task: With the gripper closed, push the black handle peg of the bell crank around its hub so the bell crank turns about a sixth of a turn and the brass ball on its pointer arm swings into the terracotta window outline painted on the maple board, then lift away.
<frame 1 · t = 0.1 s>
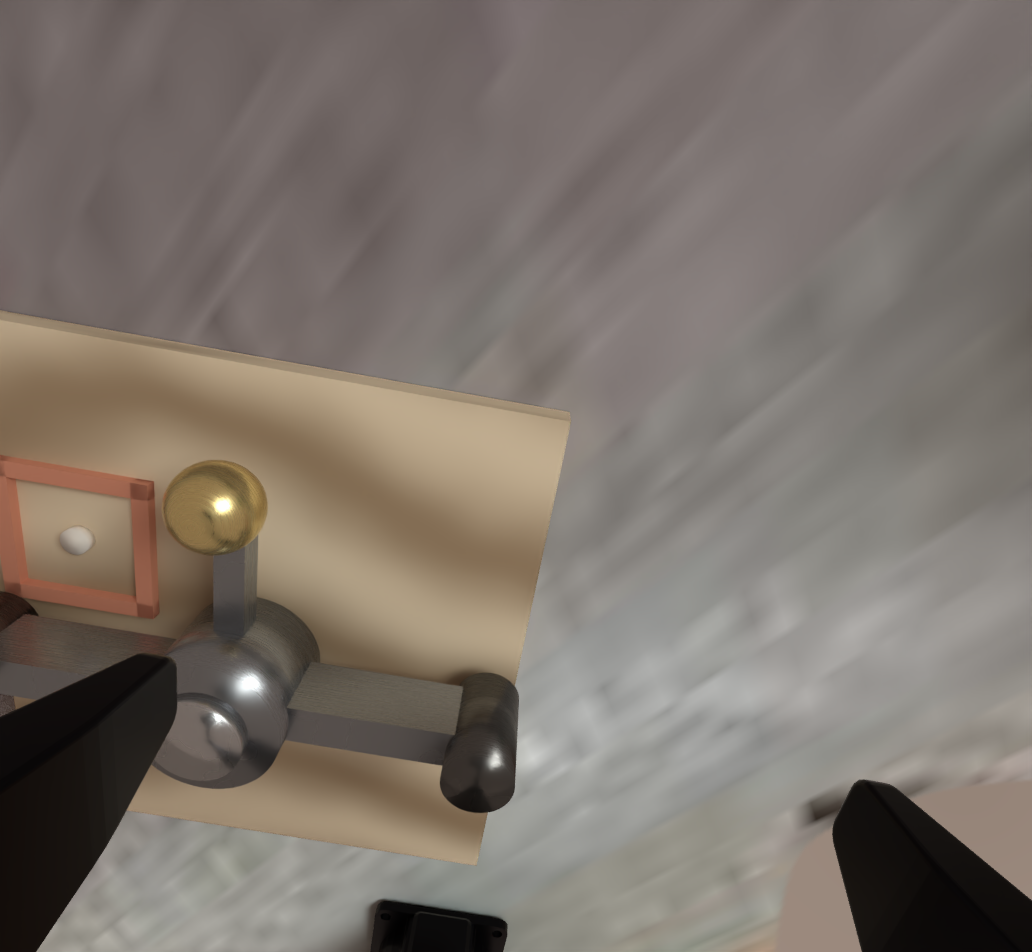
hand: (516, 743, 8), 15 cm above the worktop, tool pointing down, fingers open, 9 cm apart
level window: (102, 523, 24), resting on board
bell crank: (227, 616, 20), point 4 cm above the worktop, hinge at 0.0°
board: (272, 617, 25), on the worktop
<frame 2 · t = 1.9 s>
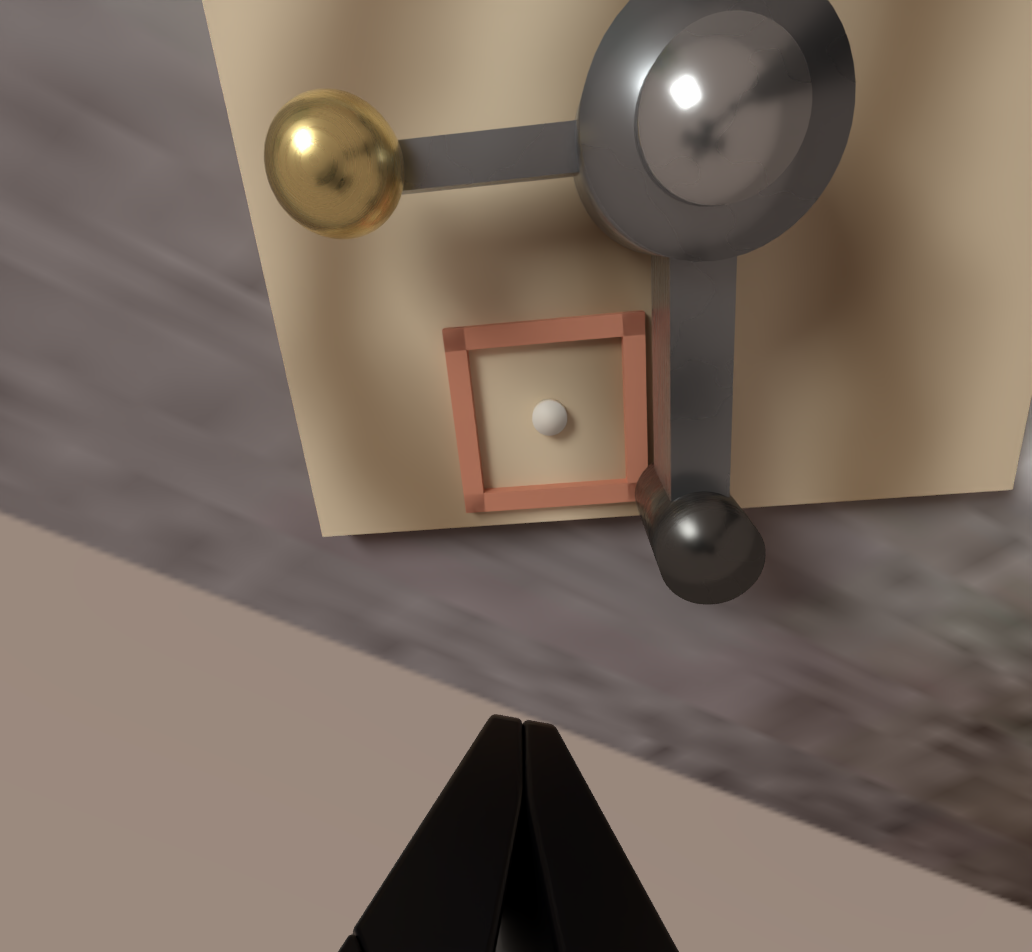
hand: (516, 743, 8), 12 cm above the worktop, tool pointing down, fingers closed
level window: (549, 404, 19), resting on board
bell crank: (542, 149, 13), point 4 cm above the worktop, hinge at 0.0°
board: (642, 157, 17), on the worktop
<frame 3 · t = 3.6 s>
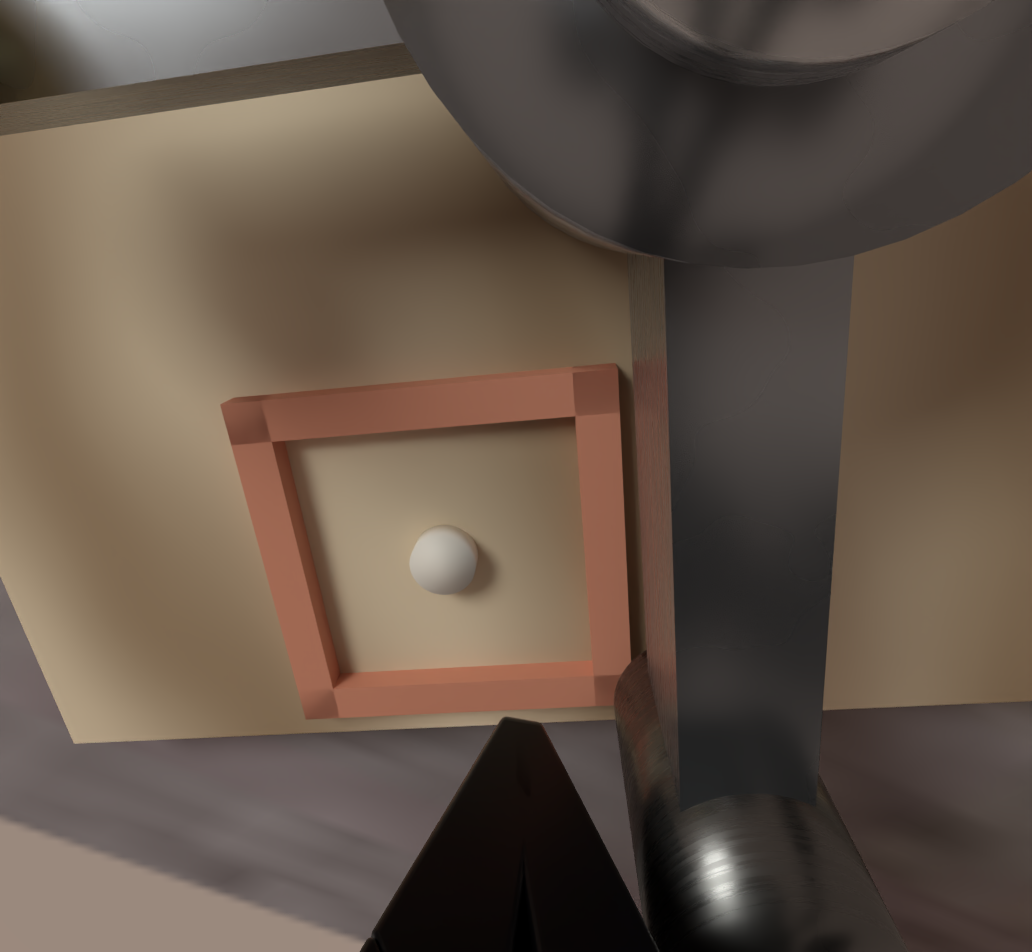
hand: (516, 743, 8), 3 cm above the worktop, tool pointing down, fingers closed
level window: (457, 521, 11), resting on board
board: (611, 59, 8), on the worktop
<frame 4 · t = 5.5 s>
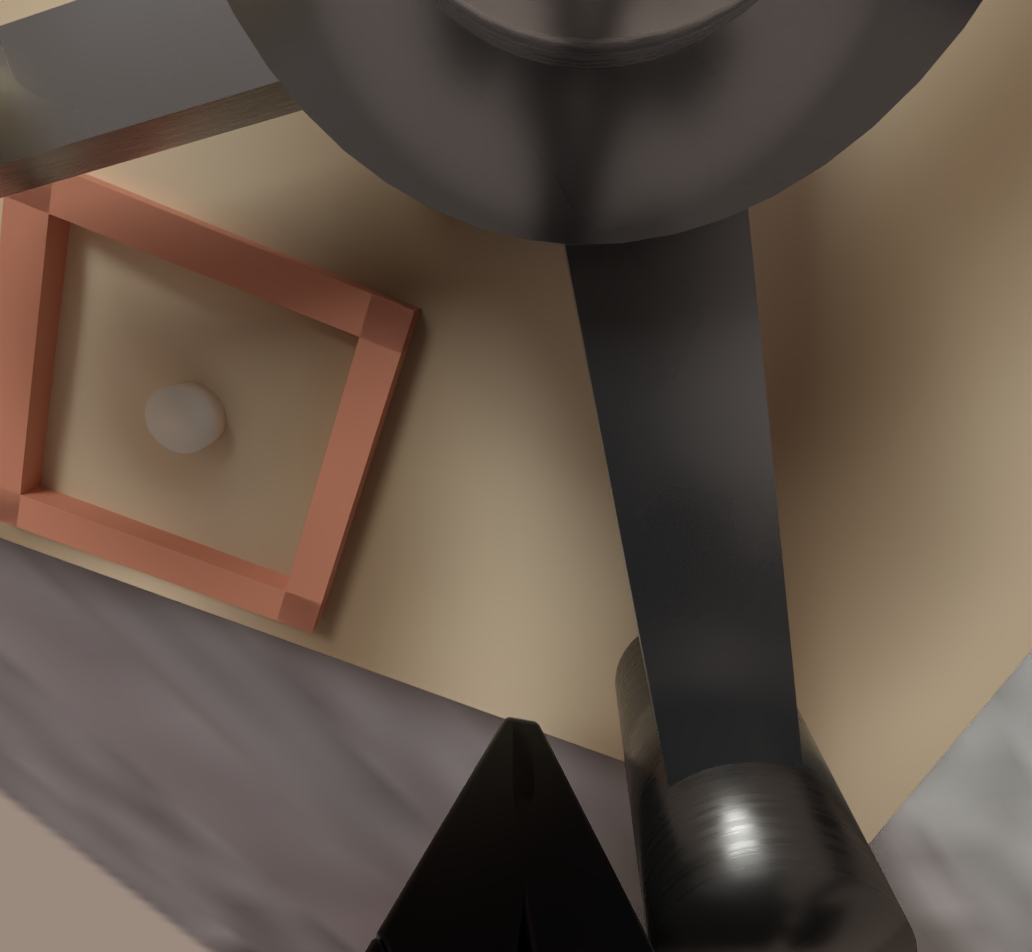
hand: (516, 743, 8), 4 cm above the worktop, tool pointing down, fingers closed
level window: (232, 396, 11), resting on board
bell crank: (219, 22, 5), point 4 cm above the worktop, hinge at 34.2°, touching gripper
board: (543, 36, 8), on the worktop
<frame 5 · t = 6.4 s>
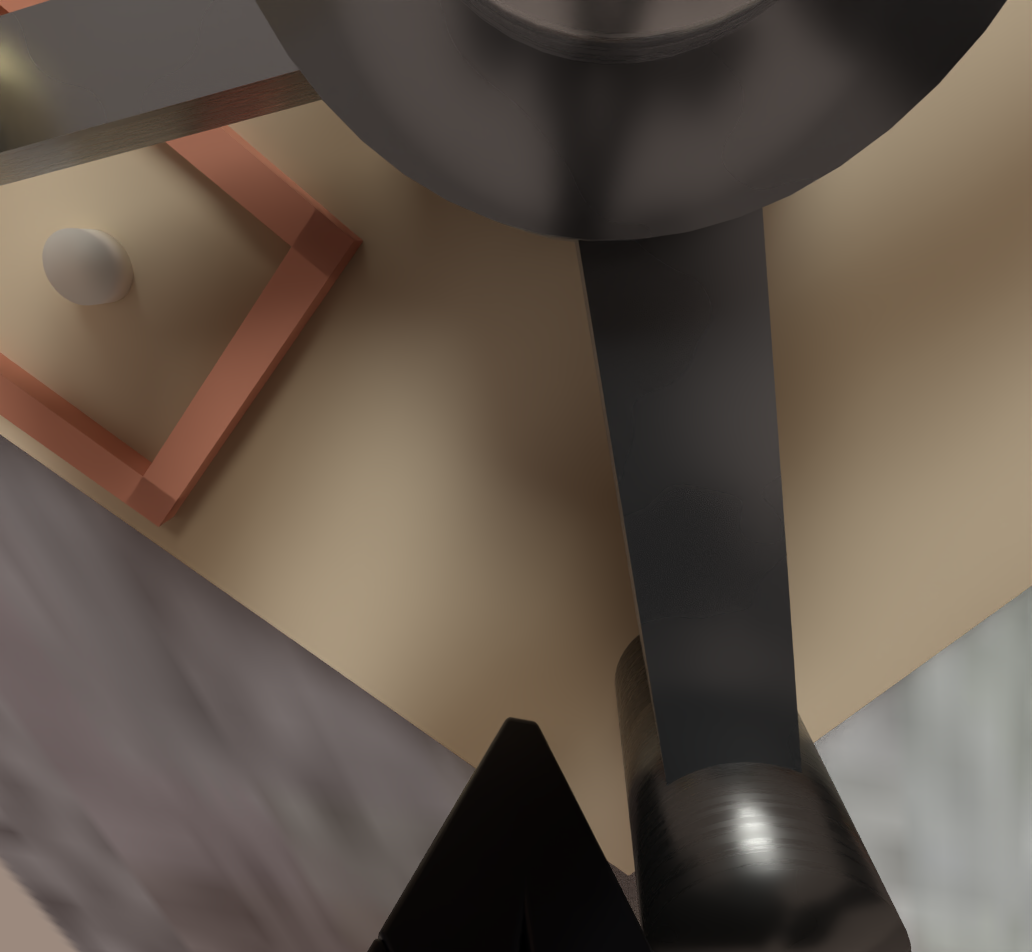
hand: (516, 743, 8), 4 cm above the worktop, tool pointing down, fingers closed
level window: (151, 264, 10), resting on board
bell crank: (238, 10, 5), point 4 cm above the worktop, hinge at 51.7°, touching gripper
board: (565, 21, 8), on the worktop
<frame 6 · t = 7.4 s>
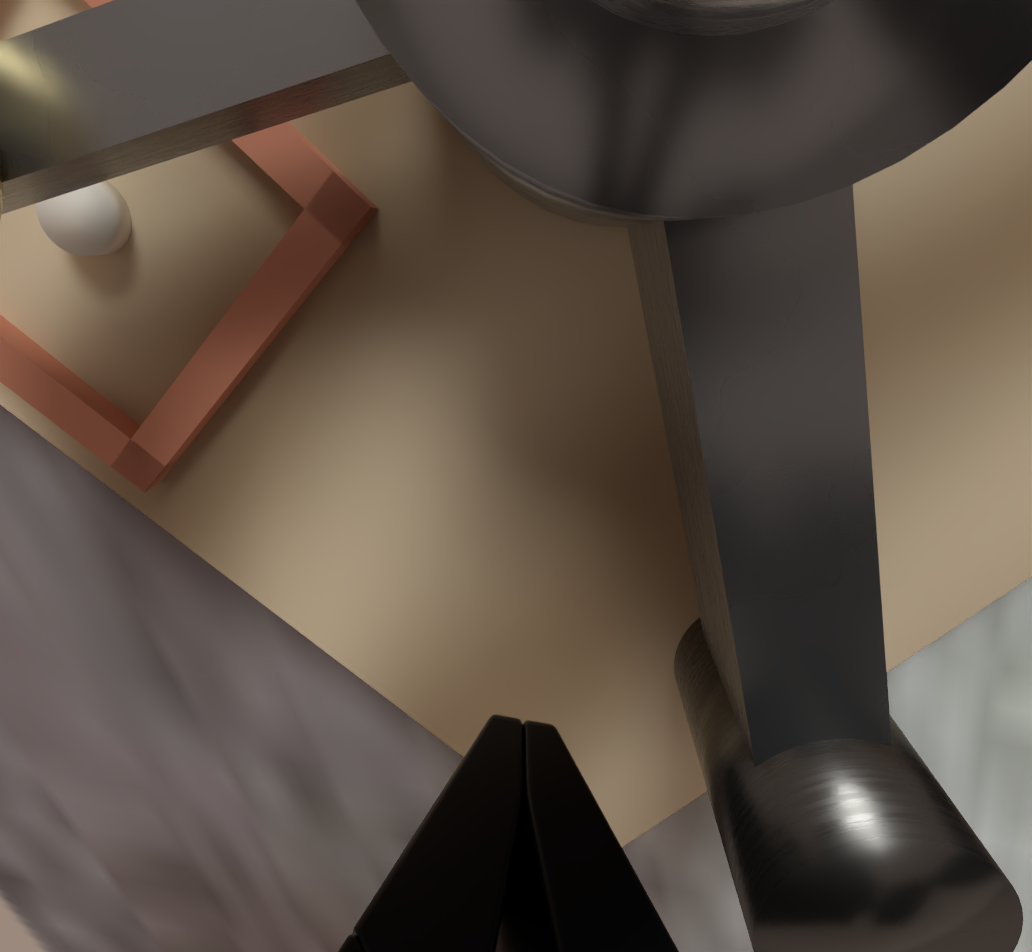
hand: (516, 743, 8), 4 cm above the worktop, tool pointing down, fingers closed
level window: (148, 218, 10), resting on board
bell crank: (295, 6, 5), point 4 cm above the worktop, hinge at 58.5°
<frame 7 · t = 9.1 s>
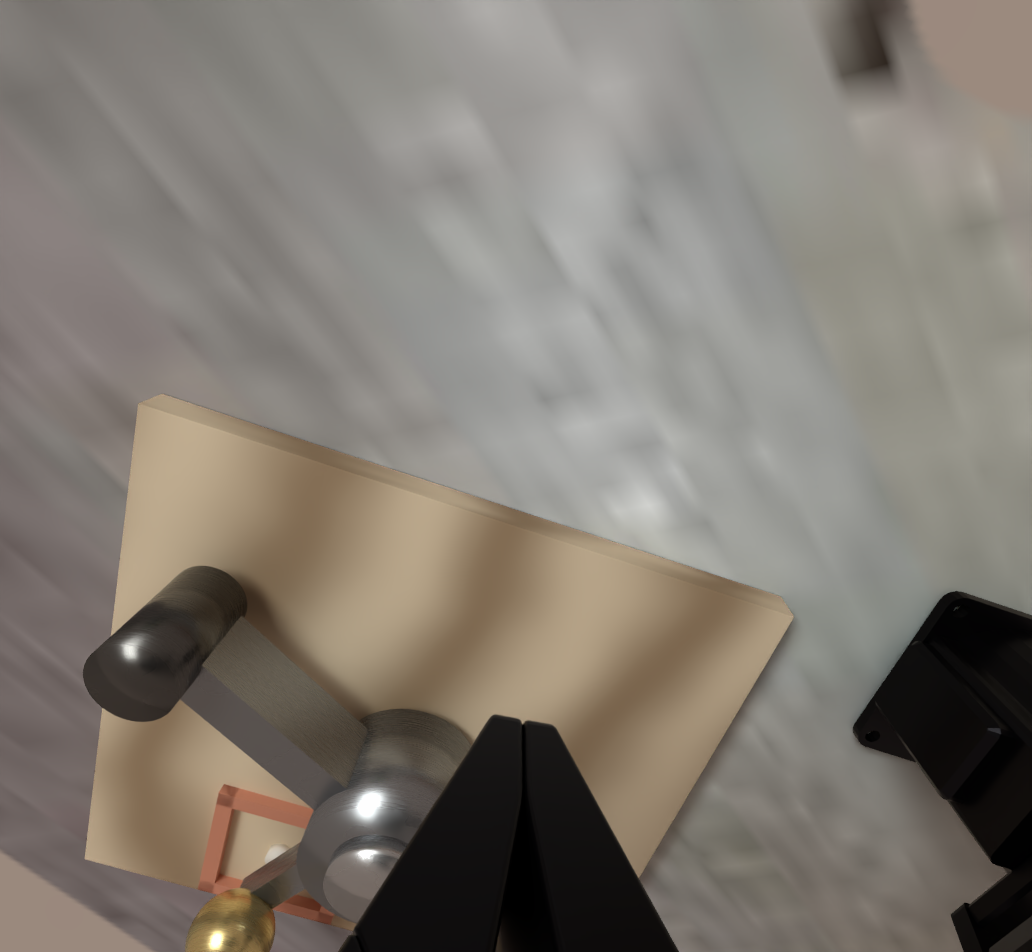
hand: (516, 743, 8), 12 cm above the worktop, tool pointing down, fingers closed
level window: (292, 825, 26), resting on board
bell crank: (324, 864, 21), point 4 cm above the worktop, hinge at 58.6°
board: (403, 728, 24), on the worktop
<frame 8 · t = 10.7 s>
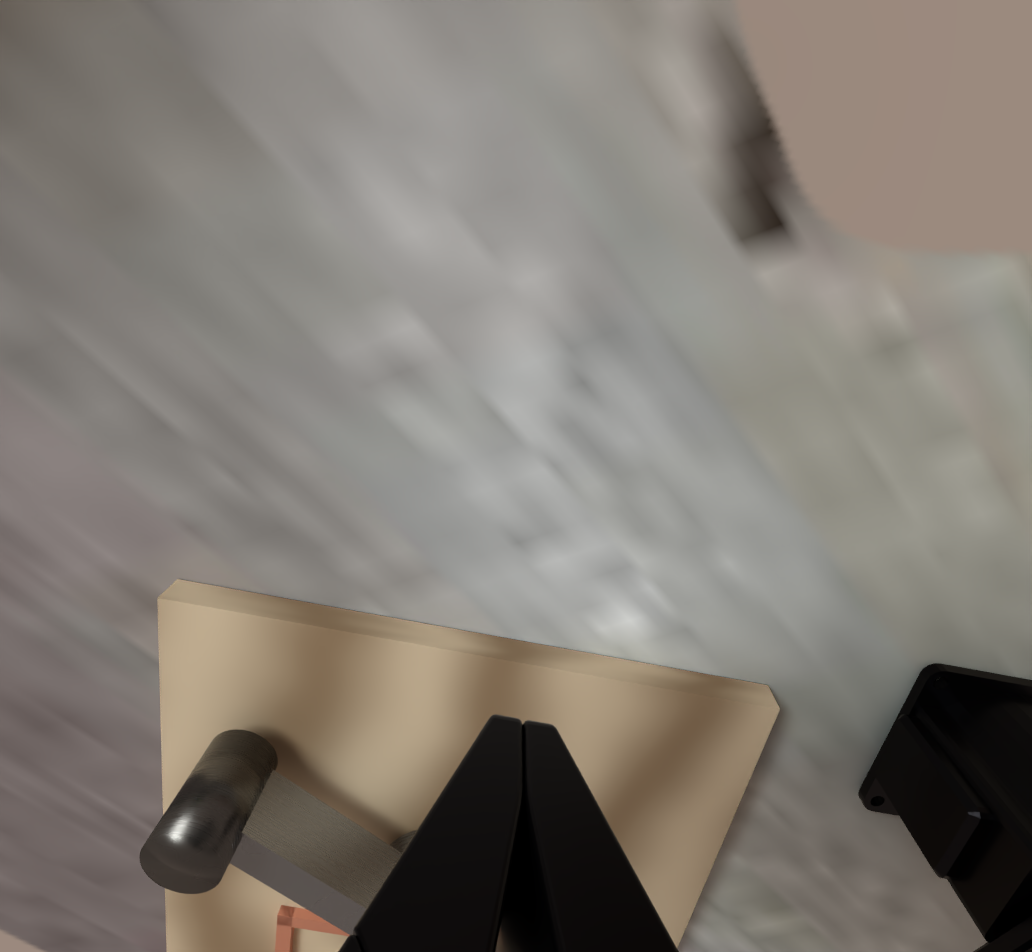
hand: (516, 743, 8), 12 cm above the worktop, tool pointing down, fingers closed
level window: (350, 929, 28), resting on board
board: (437, 835, 25), on the worktop
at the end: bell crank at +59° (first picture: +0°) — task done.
